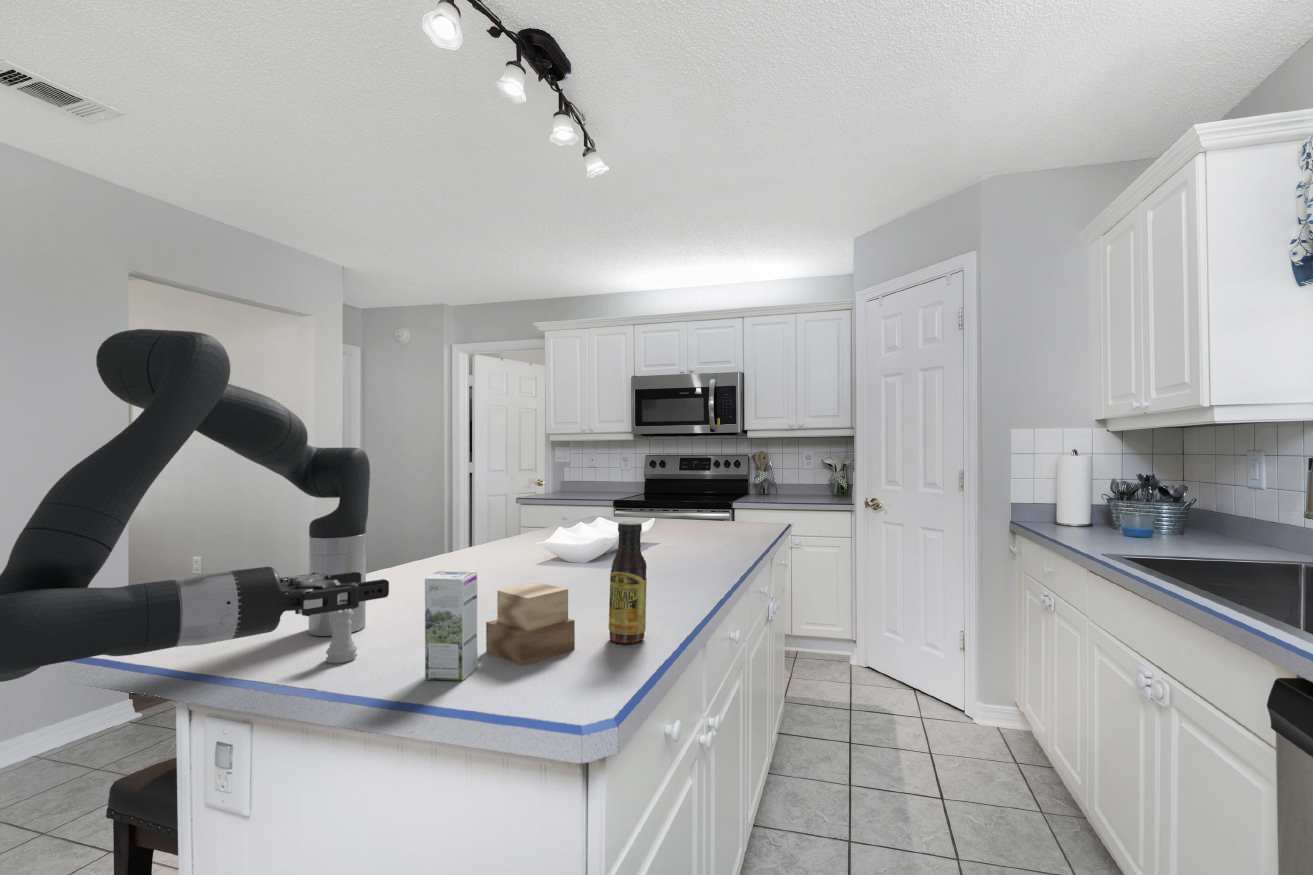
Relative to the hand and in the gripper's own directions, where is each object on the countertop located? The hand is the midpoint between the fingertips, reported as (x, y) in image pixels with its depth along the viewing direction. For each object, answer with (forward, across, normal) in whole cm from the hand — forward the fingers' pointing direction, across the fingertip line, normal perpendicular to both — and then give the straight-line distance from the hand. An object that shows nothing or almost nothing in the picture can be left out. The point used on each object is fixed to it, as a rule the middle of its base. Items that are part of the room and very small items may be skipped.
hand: (373, 583), depth 80 cm
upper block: (+26, 0, +10) cm, 27 cm away
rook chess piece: (+4, +19, +15) cm, 25 cm away
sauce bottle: (+40, -8, +15) cm, 43 cm away
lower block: (+25, 0, +15) cm, 29 cm away
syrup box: (+12, 0, +15) cm, 19 cm away
